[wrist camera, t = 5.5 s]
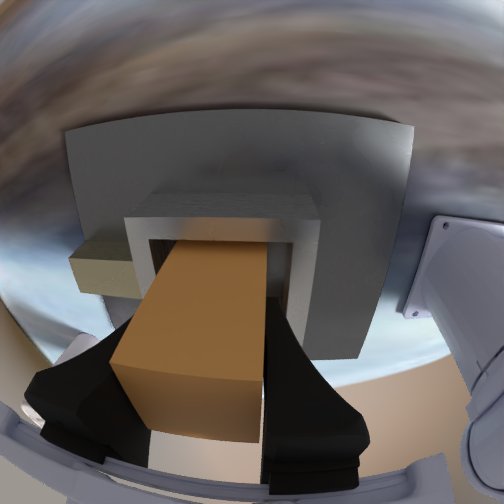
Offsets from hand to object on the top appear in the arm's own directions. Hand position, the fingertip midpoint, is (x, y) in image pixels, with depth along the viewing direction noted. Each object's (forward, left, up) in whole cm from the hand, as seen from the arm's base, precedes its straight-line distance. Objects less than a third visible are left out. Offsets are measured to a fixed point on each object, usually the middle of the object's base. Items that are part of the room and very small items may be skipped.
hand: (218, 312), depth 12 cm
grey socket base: (0, 0, -5) cm, 5 cm away
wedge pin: (0, 0, -3) cm, 3 cm away
